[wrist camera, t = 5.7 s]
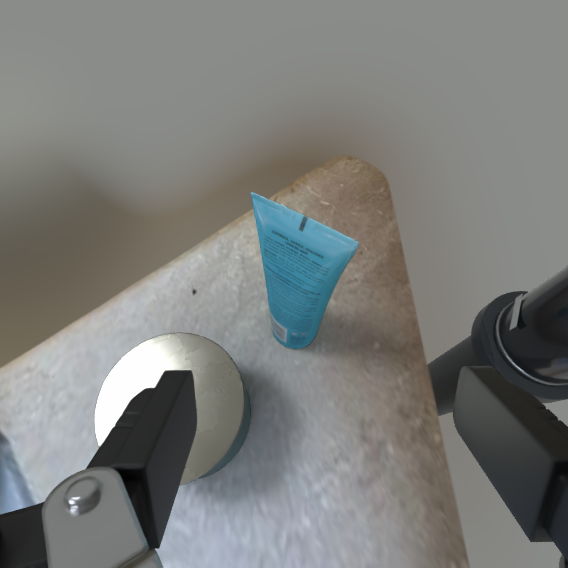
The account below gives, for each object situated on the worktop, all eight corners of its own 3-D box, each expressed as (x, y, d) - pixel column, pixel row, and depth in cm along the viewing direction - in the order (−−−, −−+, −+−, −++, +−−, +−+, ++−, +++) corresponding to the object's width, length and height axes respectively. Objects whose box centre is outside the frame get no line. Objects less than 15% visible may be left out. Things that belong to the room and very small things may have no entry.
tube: (334, 322, 39) (374, 210, 21) (316, 362, 37) (344, 274, 19) (273, 295, 40) (264, 170, 23) (253, 332, 38) (227, 226, 21)
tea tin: (254, 356, 37) (247, 331, 30) (251, 481, 32) (241, 487, 25) (144, 358, 37) (111, 333, 30) (123, 483, 32) (77, 490, 25)
